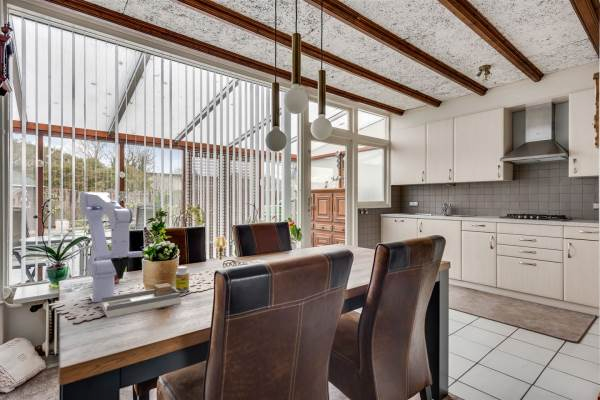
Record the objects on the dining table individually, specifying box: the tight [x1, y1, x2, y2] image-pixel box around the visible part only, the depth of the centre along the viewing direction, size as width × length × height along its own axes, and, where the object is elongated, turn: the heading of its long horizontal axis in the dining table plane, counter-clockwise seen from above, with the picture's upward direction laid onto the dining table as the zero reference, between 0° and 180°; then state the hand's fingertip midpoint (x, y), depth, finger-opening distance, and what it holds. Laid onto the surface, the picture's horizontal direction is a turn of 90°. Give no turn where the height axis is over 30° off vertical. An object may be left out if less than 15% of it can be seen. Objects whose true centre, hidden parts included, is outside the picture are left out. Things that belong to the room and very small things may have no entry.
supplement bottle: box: [174, 265, 190, 293], centre depth 133 cm, size 6×6×10 cm
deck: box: [100, 286, 182, 319], centre depth 114 cm, size 14×24×4 cm, turn 130°
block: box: [153, 282, 173, 297], centre depth 119 cm, size 5×5×4 cm
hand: (120, 278), depth 112 cm, fingers closed
